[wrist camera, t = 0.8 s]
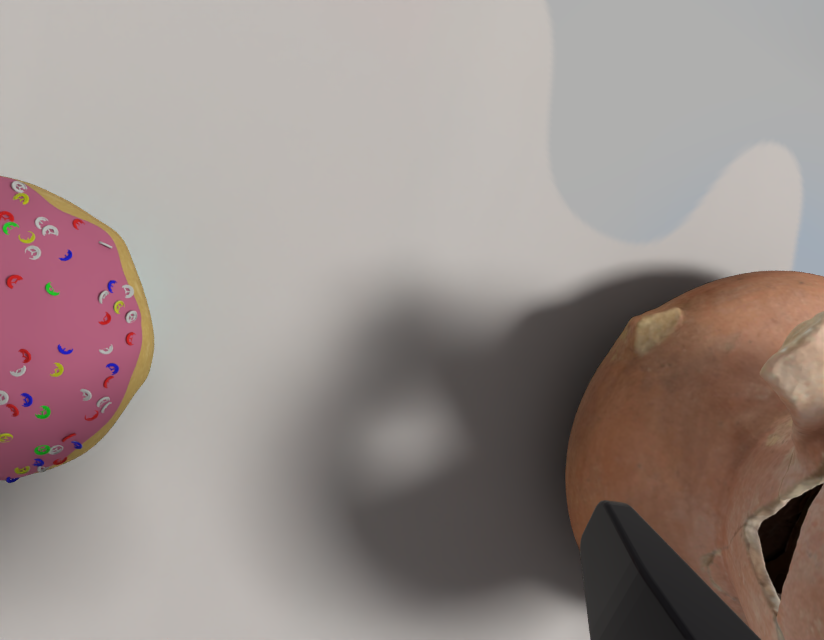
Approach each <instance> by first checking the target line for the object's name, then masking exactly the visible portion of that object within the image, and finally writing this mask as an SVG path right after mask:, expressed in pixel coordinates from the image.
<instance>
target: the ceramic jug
mask: <svg viewBox="0 0 824 640" xmlns="http://www.w3.org/2000/svg"><path fill="white" fill-rule="evenodd" d="M565 483H566V497H567V506H568V512H569V517H570V522H571V526H572V530H573V534H574V537H575V540H576V543H577V545H578V548H579V550H580V541H581V537H582V534H583V532H584V530H585V528H586V526H587V524H588V522H589V520H590V518H591V516H592V514H593V511H594V509H595V507H596V506H597V504H598V503H599V502H600V501H603V500H608V501H616V502H623V503H626V504H628V505H630V506H631V507H632V508H633V509H634V510H635V511H636V512H637V513H638V514H639V515H640V516H641V517H642V518H643V519H644V520H645V521H646V522H647V523H648V524H649V525H650V526H651V527H652V528H653V529H654V530H655V531H656V532H657V533H658V534H659V535H660V536H661V538H662V539H663V540H664V541H665V542H666V543H667V544H668V545H669V546H670V547H671V548H672V549H673V550H674V551H675V552H676V553H677V554H678V555H679V556H680V557H681V558H682V559H683V560H684V561H685V562H686V563H687V564H688V565H689V566H690V567H691V568H692V569H693V570H694V571H695V572H696V573H697V574H698V575H699V576H700V577H701V578H702V580H703V581H704V582H705V583H706V584H707V585H708V586H709V587H710V588H711V589H712V590H713V591H714V592H715V593H716V594H717V595H718V596H719V597H720V598H721V599H722V600H723V601H724V602H725V603H726V604H727V605H728V606H729V607H730V608H731V609H732V610H733V611H734V612H735V613H736V614H737V615H738V616H739V617H740V618H741V619H742V620H743V622H744V623H745V624H746V625H747V626H748V627H749V628H750V629H751V630H752V631H753V632H754V633H755V634H756V635H757V636H758V637H759V638H760V639H761V640H824V277H823V276H819V275H814V274H810V273H803V272H796V271H760V272H751V273H745V274H739V275H735V276H730V277H726V278H723V279H719V280H716V281H713V282H710V283H707V284H704V285H702V286H699V287H697V288H694V289H692V290H690V291H687V292H686V293H684V294H682V295H679V296H678V297H676V298H674V299H672V300H670V301H668V302H666V303H665V304H663V305H661V306H660V307H658V308H656V309H653V310H650V311H647V312H645V313H643V314H641V315H638V316H635V317H632V318H631V319H630V321H629V322H628V323H627V325H626V327H625V328H624V330H623V332H622V333H621V335H620V336H619V338H618V339H617V340H616V341H615V343H614V345H613V346H612V348H611V349H610V351H609V352H608V354H607V355H606V357H605V358H604V360H603V361H602V362H601V364H600V365H599V367H598V368H597V370H596V372H595V374H594V375H593V377H592V379H591V381H590V383H589V384H588V386H587V388H586V391H585V393H584V395H583V397H582V400H581V402H580V404H579V407H578V410H577V413H576V416H575V419H574V422H573V426H572V429H571V434H570V438H569V443H568V450H567V458H566V469H565Z"/></svg>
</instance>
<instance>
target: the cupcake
mask: <svg viewBox="0 0 824 640" xmlns="http://www.w3.org/2000/svg"><path fill="white" fill-rule="evenodd" d="M153 352H154V333H153V326H152V320H151V315H150V311H149V307H148V304H147V300H146V297H145V294H144V290H143V287H142V284H141V282H140V279H139V276H138V274H137V271H136V269H135V266H134V263H133V261H132V258H131V255H130V253H129V250H128V248H127V246H126V244H125V242H124V241H123V239H122V238H121V237H120V235H119V234H118V233H117V232H115V231H114V230H113V229H112V228H110V227H109V226H107V225H106V224H104V223H102V222H101V221H99V220H98V219H96V218H94V217H93V216H91V215H90V214H88V213H87V212H85V211H84V210H82V209H81V208H79V207H78V206H76V205H74V204H73V203H71V202H69V201H67V200H65V199H63V198H61V197H59V196H57V195H55V194H53V193H51V192H49V191H47V190H45V189H42V188H40V187H38V186H35V185H32V184H30V183H27V182H23V181H20V180H16V179H12V178H8V177H3V176H0V480H6V481H7V482H8V483H12V482H15V481H16V480H18V479H19V478H20V477H23V476H26V475H30V474H33V473H38V472H44V471H46V470H49V469H52V468H54V467H57V466H60V465H62V464H64V463H67V462H69V461H71V460H73V459H75V458H77V457H79V456H80V455H82V454H84V453H85V452H87V451H88V450H89V449H91V448H92V447H93V446H94V445H96V444H97V443H98V442H99V441H100V440H101V439H102V438H103V437H104V436H105V435H106V434H107V432H108V431H109V430H110V429H111V428H112V426H113V425H114V424H115V422H116V421H117V420H118V418H119V417H120V415H121V414H122V412H123V411H124V409H125V408H126V406H127V405H128V403H129V402H130V400H131V399H132V397H133V396H134V394H135V393H136V392H137V390H138V389H139V388H140V387H141V385H142V384H143V383H144V381H145V380H146V378H147V376H148V374H149V371H150V367H151V363H152V358H153ZM14 478H15V479H14ZM10 479H12V480H10Z"/></svg>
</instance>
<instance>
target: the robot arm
mask: <svg viewBox="0 0 824 640" xmlns="http://www.w3.org/2000/svg"><path fill="white" fill-rule="evenodd" d="M580 555H581V564H582V572H583V581H584V589H585V598H586V606H587V614H588V623H589V631H590V639H591V640H761V639H760V638H759V637H758V636H757V635H756V634H755V633H754V632H753V631H752V630H751V629H750V628H749V627H748V626H747V625H746V624H745V623H744V622H743V620H742V619H741V618H740V617H739V616H738V615H737V614H736V613H735V612H734V611H733V610H732V609H731V608H730V607H729V606H728V605H727V604H726V603H725V602H724V601H723V600H722V599H721V598H720V597H719V596H718V595H717V594H716V593H715V592H714V591H713V590H712V589H711V588H710V587H709V586H708V585H707V584H706V583H705V582H704V581H703V580H702V578H701V577H700V576H699V575H698V574H697V573H696V572H695V571H694V570H693V569H692V568H691V567H690V566H689V565H688V564H687V563H686V562H685V561H684V560H683V559H682V558H681V557H680V556H679V555H678V554H677V553H676V552H675V551H674V550H673V549H672V548H671V547H670V546H669V545H668V544H667V543H666V542H665V541H664V540H663V539H662V538H661V536H660V535H659V534H658V533H657V532H656V531H655V530H654V529H653V528H652V527H651V526H650V525H649V524H648V523H647V522H646V521H645V520H644V519H643V518H642V517H641V516H640V515H639V514H638V513H637V512H636V511H635V510H634V509H633V508H632V507H631V506H630V505H628V504H626V503H623V502H616V501H608V500H603V501H600V502H599V503H598V504H597V506H596V507H595V509H594V511H593V514H592V516H591V518H590V520H589V522H588V524H587V526H586V528H585V530H584V532H583V534H582V537H581V541H580Z"/></svg>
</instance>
